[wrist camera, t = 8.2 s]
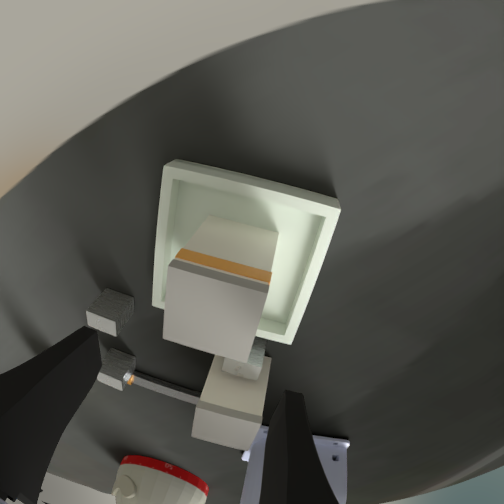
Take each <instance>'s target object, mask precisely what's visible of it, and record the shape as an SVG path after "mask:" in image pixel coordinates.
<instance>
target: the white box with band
mask: <svg viewBox="0 0 504 504" xmlns="http://www.w3.org/2000/svg"><path fill="white" fill-rule="evenodd" d="M278 235H279V233H278V232H274V231H271V230H267V229H263V228H259V227H255V226H251V225H248V224H244V223H240V222H236V221H232V220H228V219H224V218H220V217H217V216H213V215H209V216H208V217H207V218H206V219H205V221H204V222H203V223H202V225H201V226H200V227H199V228H198V230H197V231H196V232H195V234H194V235H193V236H192V237H191V239H190V240H189V241H188V243H187V244H186V245H185V247H184V248H181V249H180V251H179V252H178V253H177V254H176V256H175V259H173V260H172V261H171V262H170V264H169V265H168V269H167V281H166V294H165V308H164V325H163V339H166V340H169V341H172V342H176V343H179V344H182V345H185V346H188V347H192V348H195V349H198V350H201V351H205V352H208V353H212V354H215V355H219V356H222V357H226V358H229V359H233V360H237V361H241V362H244V363H247V361H248V357H249V354H250V351H251V348H252V344H253V341H254V338H255V335H256V331H257V328H258V325H259V322H260V318H261V315H262V312H263V308H264V305H265V302H266V298H267V295H268V291H269V286H270V281H271V276H272V272H271V270H272V265H273V260H274V255H275V250H276V245H277V240H278Z"/></svg>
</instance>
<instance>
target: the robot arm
mask: <svg viewBox="0 0 504 504" xmlns="http://www.w3.org/2000/svg"><path fill="white" fill-rule="evenodd" d="M101 367H102V361H101V355H100V348H99V341H98V334H97V331H95V330H93V329H90V328H88V327H86V326H83V327H82V328H80V329H78V330H77V331H75V332H74V333H72V334H71V335H69V336H67V337H66V338H64V339H63V340H61V341H60V342H58V343H57V344H55V345H53V346H52V347H50V348H49V349H47V350H45V351H44V352H42V353H41V354H39V355H37V356H36V357H34V358H32V359H30V360H28V361H27V362H25V363H23V364H21V365H19V366H17V367H15V368H13V369H11V370H9V371H7V372H5V373H3V374H0V504H7V503H6V502H5V500H6V498H9V499H10V500H12V501H13V502H15V500H16V499H18V500H19V501H21V502H22V503H24V504H37V500H38V497H39V493H40V490H41V486H42V483H43V480H44V477H45V474H46V471H47V468H48V465H49V463H50V460H51V458H52V455H53V453H54V451H55V448H56V446H57V444H58V442H59V440H60V437H61V435H62V433H63V432H64V430H65V428H66V426H67V425H68V423H69V422H70V420H71V418H72V417H73V415H74V414H75V412H76V411H77V409H78V408H79V406H80V405H81V403H82V402H83V400H84V399H85V397H86V395H87V394H88V392H89V391H90V389H91V388H92V386H93V384H94V382H95V380H96V378H97V376H98V374H99V372H100V370H101ZM349 445H350V441H349V440H345V439H337V438H329V437H322V436H316V435H312V433H311V429H310V425H309V421H308V417H307V412H306V407H305V402H304V396H303V395H302V393H297V392H292V391H288V390H285V392H284V394H283V396H282V398H281V400H280V402H279V404H278V406H277V408H276V410H275V412H274V414H273V415H272V417H271V419H270V424H269V427H267V426H263V425H261V426H260V428H259V430H258V432H257V434H256V436H255V438H254V440H253V442H252V444H251V446H250V448H249V450H248V451H244V453H243V455H242V460H244V461H248V467H247V472H246V477H245V482H244V486H243V491H242V496H241V501H240V504H346V498H347V447H348V446H349Z"/></svg>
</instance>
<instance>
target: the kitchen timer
mask: <svg viewBox="0 0 504 504" xmlns="http://www.w3.org/2000/svg"><path fill="white" fill-rule="evenodd" d="M208 491H209V487H208V486H207V484H206V483H205V482H204V481H202V480H201V479H200V478H198V477H197V476H195V475H193V474H192V473H190V472H188V471H186V470H183V469H181V468H179V467H177V466H174V465H171V464H169V463H166V462H163V461H160V460H156V459H153V458H150V457H144V456H139V455H128V456H125V457H124V458H123V460H122V462H121V464H120V466H119V469H118V472H117V477H116V481H115V483H114V486H113V489H112V493H111V494H112V495H114V496H116V504H205V501H206V498H207V494H208Z"/></svg>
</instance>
